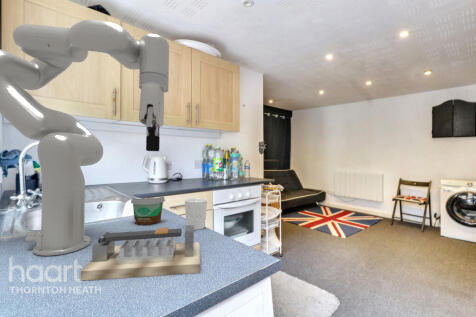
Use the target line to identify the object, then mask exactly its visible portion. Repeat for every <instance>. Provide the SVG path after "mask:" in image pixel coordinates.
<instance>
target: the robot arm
mask: <svg viewBox="0 0 476 317" xmlns="http://www.w3.org/2000/svg"><path fill="white" fill-rule="evenodd" d="M12 37H13V38H12V39H13V41H14V44H15V45H16V46H17V47H18V49H19V50H20V51H22V52H23V53H24V54H26V55H27V56H29V57H31V58H33V59H32V60H30V61H28V60H27V59H25V58H22V57H21V56H18V55H16V54H13V53H11V52H9V51H6V50H4V49H0V114H1V116H2V117H3V118H4V119H6V120H7V121H8V122H9V123H10V124H11V125H12V127H14V128H15V129H16V130H17V131H18V132H19V133H20V134H21V135H22V136H24V137H26V138H27V139H29V140H34V141H39V142H38V144H37V149H36V150H37V151H36V152H37V157H38V162H39V166H40V167H39V168H40V173H41V220H40V221H41V229H40V230H41V231H40V232H38V231H37V232H33V231H32V232H28V233H27V234H26V236H25V242H27V243H32V242H35V243H36V244H35V245H34V246H33V249H32V253H34V255H37V256H42V257H43V256H46V257H48V256H49V257H50V256H60V255H65V254H70V253H73V252H76V251H78V250H82V249H84V248H86V247H87V246H89V245H90V244H91V237H90V236H88V235H85V217H86V216H85V212H86V211H85V210H86V209H85V208H86V207H85V206H86V203H85V202H86V182H85V176H84V173H83V170H82V167H87V166H93V165H96V164H97V163H99V162H100V161H101V160H102V158H103V156H104V147H103V145H102V143H101V141H100V140H99V139H98V138H97V137H96V135H94V134H93V133H92V132H91V131H90V130H89V129H88V128H87V127H86V126H85V125H83V124H82V123H81V121H79V120H78V119H77V118H75V117H74V116H72V115H71V114H69V113H66V112H63V111H60V110H59V111H58V110H56V109H52V108H48V107H46V106H44V105H42V104H41V103H40V102H39V101H37V99H35V98H34V97H33V96H32V95H31V94H30V93H29V92H28V91H37V90H40V89H41V88H44V87H45V86H46V85H48V84H49V83H51V81H53V80H54V79H56V78H57V77H59V76H60V75H61V74H62V73H63V72H65V71H66V70H68V68H69V67H70V66H71V65H72V63H83V62H84V61H85V60H87V57H88V55H89V52H96V53H97V52H98V53H104V54H107V55H109V56H110V57H112V58H113V59H114V60H115V61H117V62H118V63H119V64H121V65H122V66H123V67H124V68H127V69H129V70H134V71H135V70H139V73H138V75H139V76H138V78H139V80H138V88H139V89H140V94H139V110H138V120H139V123H141V124H142V125H144V126H145V127H146V130H145V131H146V137H145V150H146V151H147V152H159V151H160V145H161V144H160V143H161V142H160V141H161V140H160V139H161V138H160V131H161V130H160V128H161V127H163V126H164V119H165V117H164V116H165V94H166V93H168V92H169V83H170V82H169V78H170V76H169V75H170V74H169V71H170V68H169V66H170V43H169V42H168V40H167V39H166V37H164V36H161V35H159V34H156V33H146V34H143V35H142V36H141V37H140V40H139V41H138V40H137V39H135V38H134V37H133V36H132V34H130V32H128V31H127V29H125V28H124V27H123V26H121V25H119V24H117V23H114V22H110V21H104V20H98V19H97V20H96V19H95V20H93V19H84V20H80V21H79V22H78V21H77V22H76V23H74V24H73V25H72V26H71V27H63V26H51V25H43V24H42V25H41V24H34V23H33V24H31V23H26V24H21V25H20V24H19V25H18V26H17V27H15V28H14V30H13V32H12ZM27 90H28V91H27Z"/></svg>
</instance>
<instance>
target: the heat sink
mask: <svg viewBox="0 0 476 317" xmlns="http://www.w3.org/2000/svg"><path fill="white" fill-rule="evenodd" d="M194 234H195V230H194V225H185V231H184V243H185V257H193V249H194V243H195V242H194V241H195V239H194V238H195V236H194ZM145 240H147V241H145ZM176 243H177V240H174V237H168V239H167V240H165V238H157V240H155V238H152V239H138V240H125V241H124V243H123V244H122V245H121V246H122V247H121V248H120V253H119V254H118V256H117V257H116V265H120V264H137V263H155V262H172V261H173V259H174V254H175V250H176ZM115 246H116V241H110V242H103V243H98V241H97V242H95V244H93V245H92V246H91V247H92V250H91V260H92V262H103V261H107V260H108V259H109V258H110V257H111V256H112V255H113V253H114V252H115Z"/></svg>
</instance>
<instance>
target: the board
mask: <svg viewBox="0 0 476 317" xmlns="http://www.w3.org/2000/svg"><path fill="white" fill-rule="evenodd" d="M121 247H122V245H115V252H114V253H113V255H112V256H111V257H110V258H109V259H108V260H107V261H103V262H92V259H91V260H90V261H89V262H88V263H87V264H86V265H85V266H84V267H83V268H82V269H81V270H80V279H79V280H86V281H96V280H97V281H99V280H100V281H101V280H114V279H116V280H117V279H129V278H143V277H144V278H145V277H156V276H157V277H158V276H160V277H161V276H173V275H188V274H189V275H190V274H199V273H200V272H201V271H200V270H201V259H200V258H201V256H200V254H201V253H200V252H201V251H200V242H198V241H196V242H194V249H193V257H185V242H176V250H175V254H174V259H173V261H172V262H155V263H137V264H120V265H116V257H117V256H118V254H119V253H120V248H121Z"/></svg>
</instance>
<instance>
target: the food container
mask: <svg viewBox="0 0 476 317" xmlns="http://www.w3.org/2000/svg"><path fill="white" fill-rule="evenodd" d="M165 201H166V198H165V196H164V195H163V196H160V197H142V198H137V197H133V196H132V198H131V199H130V203H131V204H132V208H133V218H134V224H135V225H137V226H153V224H154V225H157V224H160V223H161V220H162V212H163V207H164V206H163V205H164V202H165Z"/></svg>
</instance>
